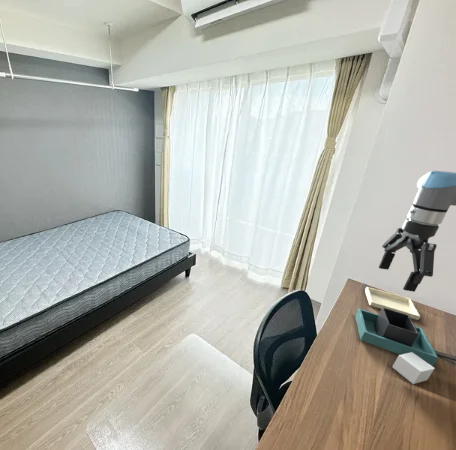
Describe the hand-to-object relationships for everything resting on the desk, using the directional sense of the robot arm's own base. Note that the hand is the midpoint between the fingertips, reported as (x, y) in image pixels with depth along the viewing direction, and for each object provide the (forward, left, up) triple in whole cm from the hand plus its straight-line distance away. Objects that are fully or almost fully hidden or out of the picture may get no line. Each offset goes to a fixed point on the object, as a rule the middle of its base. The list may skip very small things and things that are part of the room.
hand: (395, 278), depth 84 cm
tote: (-7, -3, -27) cm, 28 cm away
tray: (-12, -31, -27) cm, 43 cm away
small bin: (-7, -3, -26) cm, 27 cm away
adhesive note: (-9, +13, -27) cm, 31 cm away
